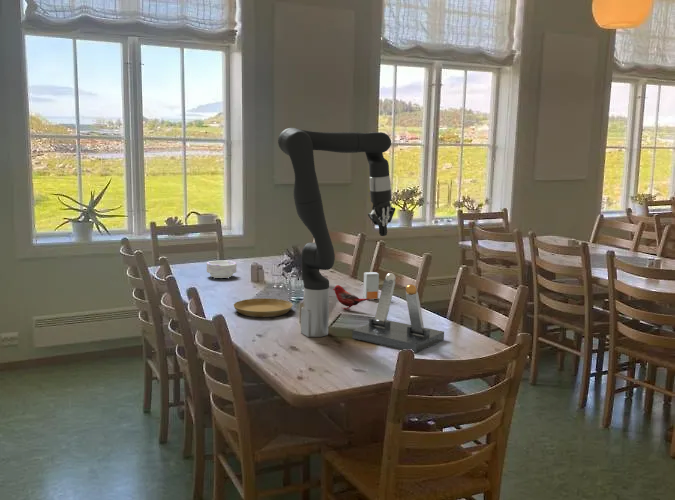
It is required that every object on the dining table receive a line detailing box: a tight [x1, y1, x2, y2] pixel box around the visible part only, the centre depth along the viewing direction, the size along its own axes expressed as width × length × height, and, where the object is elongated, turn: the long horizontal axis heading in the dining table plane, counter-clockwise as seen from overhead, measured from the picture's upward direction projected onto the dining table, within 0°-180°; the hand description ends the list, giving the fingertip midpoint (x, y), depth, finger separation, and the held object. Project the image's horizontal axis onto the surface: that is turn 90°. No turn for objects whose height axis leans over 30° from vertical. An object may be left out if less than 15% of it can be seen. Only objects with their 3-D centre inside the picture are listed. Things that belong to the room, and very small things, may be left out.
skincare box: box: [362, 271, 380, 301], centre depth 291 cm, size 6×4×12 cm
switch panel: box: [351, 317, 445, 354], centre depth 230 cm, size 20×26×6 cm
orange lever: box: [405, 283, 425, 336], centre depth 221 cm, size 4×5×20 cm
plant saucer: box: [233, 297, 293, 318], centre depth 265 cm, size 24×24×3 cm
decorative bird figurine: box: [332, 284, 370, 311], centre depth 269 cm, size 3×18×10 cm, turn 59°
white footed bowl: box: [206, 260, 237, 279], centre depth 332 cm, size 15×15×8 cm
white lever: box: [372, 272, 396, 327], centre depth 236 cm, size 4×5×20 cm
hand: (383, 235), depth 235 cm, fingers closed
